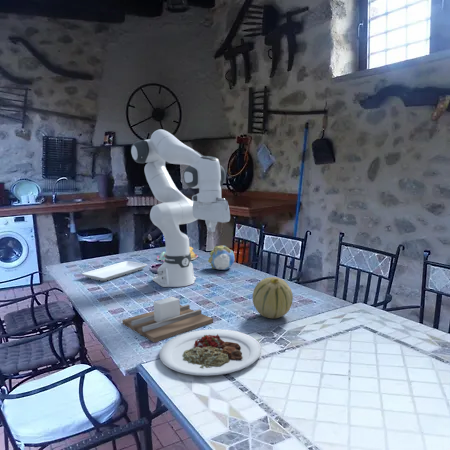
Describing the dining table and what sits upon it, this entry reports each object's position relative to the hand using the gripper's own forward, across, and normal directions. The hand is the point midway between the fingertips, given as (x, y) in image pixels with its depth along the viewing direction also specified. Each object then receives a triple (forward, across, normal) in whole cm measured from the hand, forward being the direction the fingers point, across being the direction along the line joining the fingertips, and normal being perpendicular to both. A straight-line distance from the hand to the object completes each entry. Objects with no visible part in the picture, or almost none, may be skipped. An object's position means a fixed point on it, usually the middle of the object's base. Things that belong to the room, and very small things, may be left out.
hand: (211, 231), depth 170 cm
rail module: (+27, -8, +28) cm, 40 cm away
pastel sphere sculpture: (+30, +76, -32) cm, 88 cm away
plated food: (+29, -38, +32) cm, 58 cm away
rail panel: (+29, -8, +28) cm, 41 cm away
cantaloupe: (+29, -30, -4) cm, 42 cm away
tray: (+30, +70, +10) cm, 77 cm away
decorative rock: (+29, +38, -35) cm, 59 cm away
